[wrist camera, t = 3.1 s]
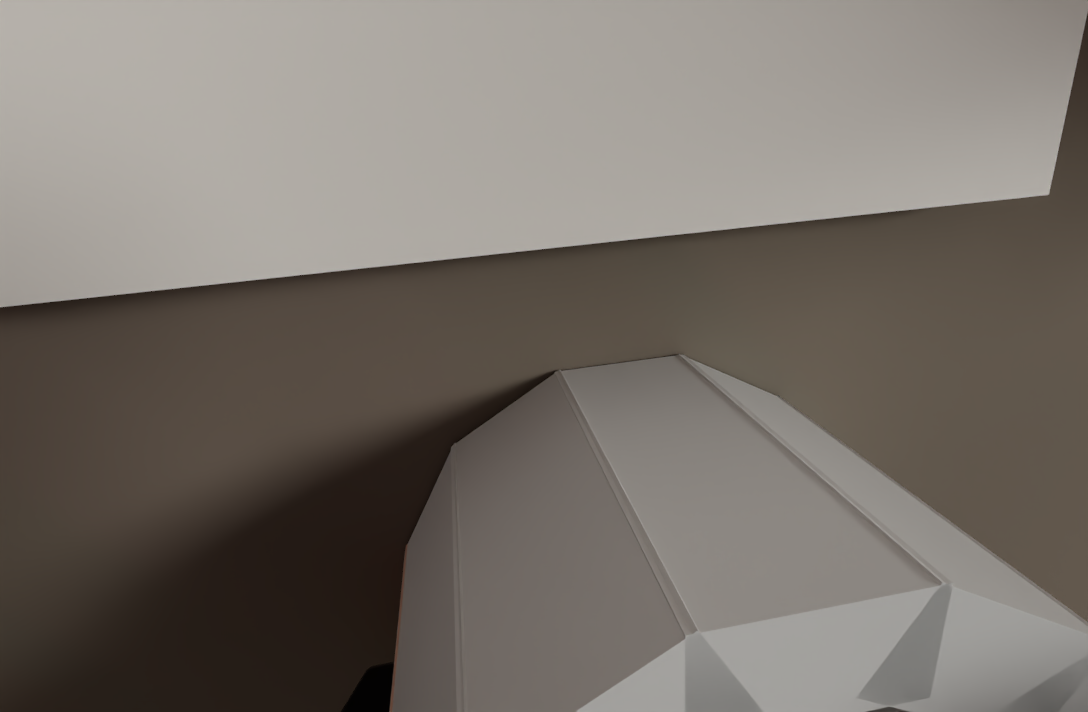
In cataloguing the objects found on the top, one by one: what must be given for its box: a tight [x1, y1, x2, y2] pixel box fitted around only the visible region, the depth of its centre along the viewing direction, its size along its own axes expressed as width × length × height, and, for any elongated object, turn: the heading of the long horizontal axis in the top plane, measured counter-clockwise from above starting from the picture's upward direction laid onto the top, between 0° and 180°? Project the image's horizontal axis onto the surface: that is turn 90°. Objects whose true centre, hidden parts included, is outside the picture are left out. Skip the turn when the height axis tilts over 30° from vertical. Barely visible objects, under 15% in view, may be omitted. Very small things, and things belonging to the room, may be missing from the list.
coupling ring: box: [389, 354, 1088, 712], centre depth 7 cm, size 6×6×4 cm
